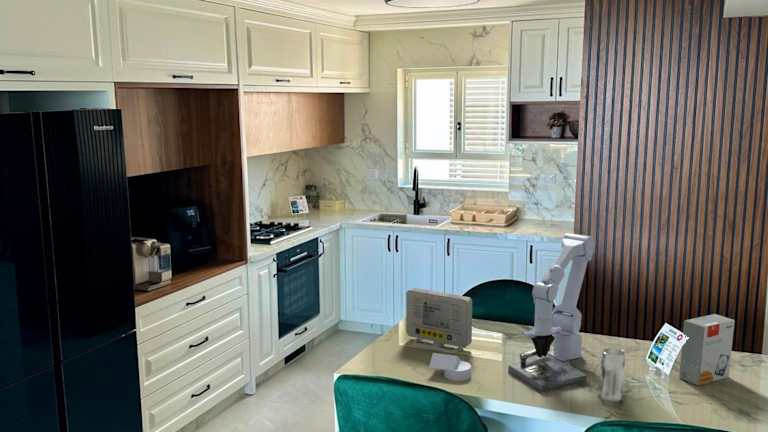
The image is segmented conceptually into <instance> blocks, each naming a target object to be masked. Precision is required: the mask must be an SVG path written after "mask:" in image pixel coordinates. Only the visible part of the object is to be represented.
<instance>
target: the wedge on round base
mask: <svg viewBox="0 0 768 432" xmlns="http://www.w3.org/2000/svg"><path fill="white" fill-rule="evenodd" d="M428 367H429V368H432V369H441V370H443V376H444V378H446V379H448V380H451V381H458V382H459V381H460V382H461V381H467V380H469V379H470V378H471V376H472V364H470V362H468V361H465V360H461V359H460V357H459V356H458V355H452V354H446V353H438V352H437V353H436V352H432V355H431V359H430V362H429V366H428ZM468 378H469V379H468Z"/></svg>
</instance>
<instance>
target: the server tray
mask: <svg viewBox="0 0 768 432" xmlns="http://www.w3.org/2000/svg"><path fill="white" fill-rule="evenodd" d="M507 368H508V369H507V372H508V373H509V374H510V375H512V376H514V377H515V378H517V379H519V380H520V381H522V382H523V383H524V384H527V386H530V387H532V388H534V389H535V390H537V391H538V392H540V393H541V394H544V393H547V392H551V391H556V390H560V389H564V388H569V387H573V386H577V385H581V384H585V383H587V382H588V374H586V373H584V372H582V371H581V370H578V369H577V368H574V367H573V366H571V365H570V364H567V363H566V362H564V361H561V360H559V359H557V358H555V357H553V356H551V355H549V356H547V357H545V356H543V357H542V358H540V357H538V358H535V359H530V360H527V359H526V360H522V359H520V362H517V363H512V364H508V366H507Z"/></svg>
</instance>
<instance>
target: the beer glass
mask: <svg viewBox="0 0 768 432" xmlns="http://www.w3.org/2000/svg"><path fill="white" fill-rule="evenodd" d="M601 353H602V354H601V361H600V369H601V378H602V390H601V394H600V398H601V399H602V400H604V401H606V402H610V403H618V402H620V401H622V399H623V396H622V395H623V394H622V385H623V384H622V383H623V380H624V376H625V371H626V352H625V350H623V349H621V348H618V347H605V348H603V349H602V352H601Z"/></svg>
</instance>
